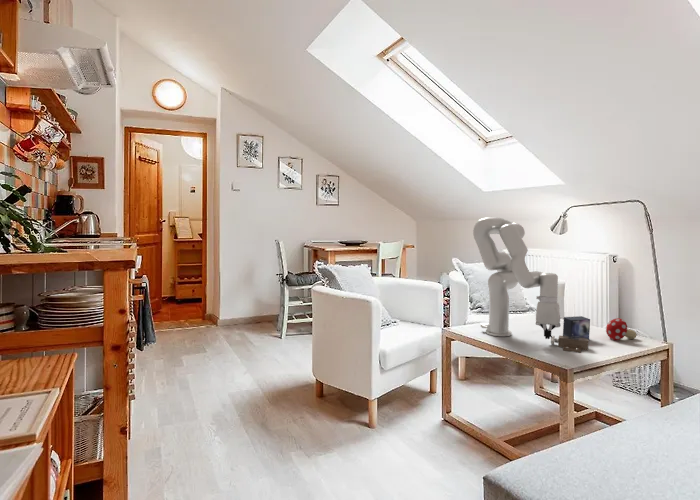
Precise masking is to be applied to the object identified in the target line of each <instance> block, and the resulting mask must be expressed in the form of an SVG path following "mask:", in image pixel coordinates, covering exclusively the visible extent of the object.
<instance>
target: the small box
mask: <svg viewBox="0 0 700 500" xmlns="http://www.w3.org/2000/svg"><path fill="white" fill-rule="evenodd" d="M562 325H563V326H562V336H571V337H579V338H585V339H588V341H590V334H591V333H590V332H591V331H590V330H591V328H590V327H591V319H590V318H588V317H584V316H581V315H579V316H564V317H563V324H562Z"/></svg>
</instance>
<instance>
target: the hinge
mask: <svg viewBox="0 0 700 500" xmlns="http://www.w3.org/2000/svg"><path fill="white" fill-rule="evenodd" d="M557 339H558V343H557V346H558V348H563V349H562V351H565V352H572V353H577V354H581V353H582V351H588V350H589V340H588V339H585V338H579V337H571V336H563V335H559V336H558V338H557Z"/></svg>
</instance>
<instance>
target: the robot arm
mask: <svg viewBox="0 0 700 500" xmlns="http://www.w3.org/2000/svg"><path fill="white" fill-rule="evenodd" d="M472 232H473V233H472V234H473V239H474V240H475V243H476V245H477V248H478V250H479V254H480V257H481V260H482V262H483V265H484V267H485V269H487V270H488V271H497V272H494V273H492V274H491V275H490V276H489V277H488V280H487V286H488V287H487V288H488V292H489V308H488V309H489V310H488V311H489V313H488V323H480V328H482V329H485V334H487V335H489V336H494V337H509V336H510V337H511V336H512V331H511V330H509V328H510V327H509V324H510V323H509V320H510V316H509V315H510V297H509V292H508V290H512V289H515V288H516V287H517V286H518V284H519V285H520V286H521V287H522V288H524V289H533V288H537V287H539V295H537V296H536V300H539V301H538V302H537V304H536V313H535V325H536V326H540V327H541V328H542V329H543V337H544V338H545V340H549V339H551V336H552V331H553V329H556V328H560V327H561V310H560V303H559V302H558V292H559V291H558V289H559V288H558V287H559V286H558V285H559V276H558V275H557V274H556V273H553V272H543V271H538V270H533V271H530V270H529V269H528V266H527V264H526V263H527V262H526V256H527V253H528V252H529V250H528V249H529V248H528V247H527V245H526V243H525V241H524V240H523V238H524V236H525V234H526V233H525V228H524V227H523V226H522V225H521V224H520V223H516V222H513V221H510V220H508V219H504V218H501V217H483V218H480V219H478V220H477V222H476V223H475V225H474V226H473V230H472ZM491 235H500V239H501V240H502V242H503V245H504V246H505V248H506V251H507V252H508V253H509V254H508V253H506V252H505V251H498V249H497V245H496V243H495V241H494V239H493V238H492V237H491ZM547 325H548V326H549V327H547Z"/></svg>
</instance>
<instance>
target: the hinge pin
mask: <svg viewBox="0 0 700 500" xmlns="http://www.w3.org/2000/svg"><path fill="white" fill-rule="evenodd" d="M558 339H559V338H556V337H555V335H551V337H550V345H553V346H554V345H555V344H558Z"/></svg>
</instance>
